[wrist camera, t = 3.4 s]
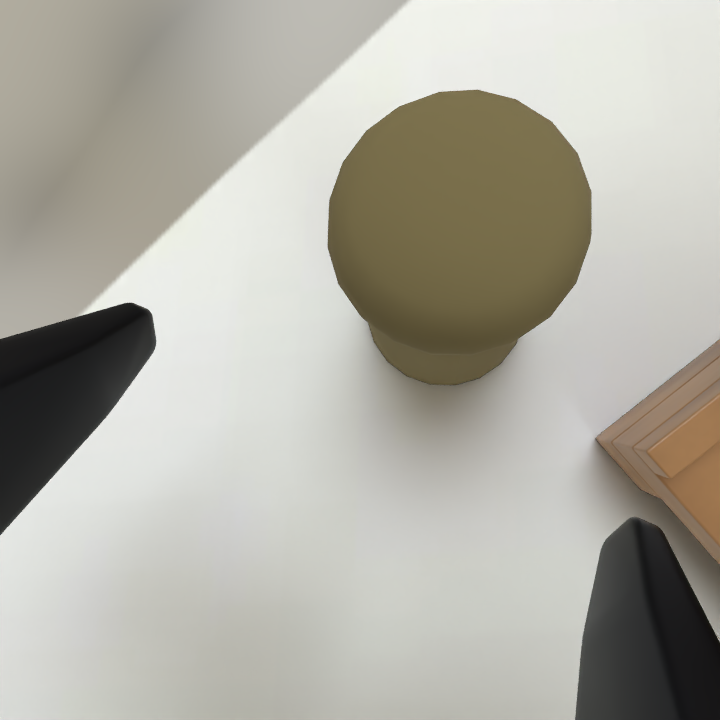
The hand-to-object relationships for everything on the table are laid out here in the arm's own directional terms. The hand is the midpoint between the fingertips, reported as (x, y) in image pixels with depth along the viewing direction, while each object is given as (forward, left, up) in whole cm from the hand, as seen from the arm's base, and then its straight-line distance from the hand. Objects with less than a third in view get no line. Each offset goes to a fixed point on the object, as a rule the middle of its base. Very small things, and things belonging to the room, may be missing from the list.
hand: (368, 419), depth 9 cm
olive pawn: (+3, +3, -11) cm, 12 cm away
